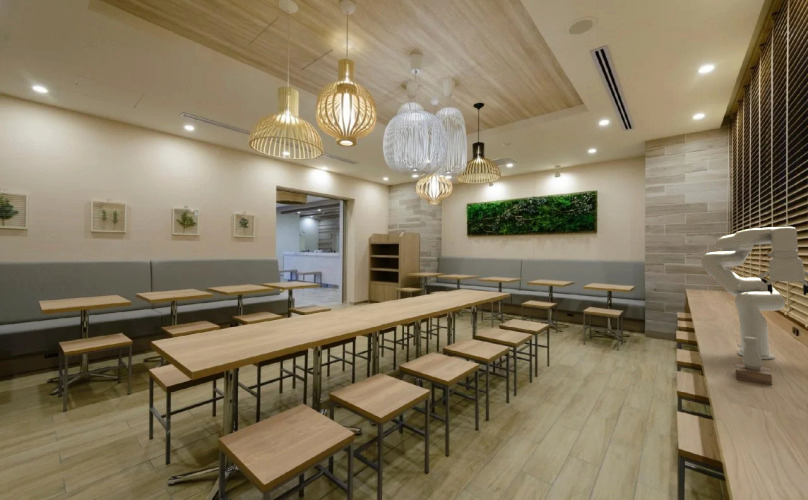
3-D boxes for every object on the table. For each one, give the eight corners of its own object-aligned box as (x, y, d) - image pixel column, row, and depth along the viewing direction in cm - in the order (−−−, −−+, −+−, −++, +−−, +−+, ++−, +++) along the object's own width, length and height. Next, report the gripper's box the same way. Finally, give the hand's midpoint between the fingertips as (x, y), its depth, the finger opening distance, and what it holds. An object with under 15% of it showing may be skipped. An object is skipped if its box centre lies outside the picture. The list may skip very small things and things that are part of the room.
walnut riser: (736, 372, 145) (735, 363, 145) (770, 377, 138) (769, 367, 138) (736, 379, 138) (735, 369, 138) (772, 385, 131) (771, 374, 131)
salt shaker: (767, 371, 135) (764, 339, 135) (751, 371, 136) (748, 339, 136) (754, 366, 140) (752, 335, 141) (739, 366, 141) (736, 335, 142)
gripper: (755, 256, 150) (758, 294, 149) (816, 255, 136) (819, 296, 136) (756, 255, 154) (759, 292, 154) (816, 254, 141) (818, 294, 141)
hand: (787, 294), depth 145 cm, fingers open, 9 cm apart
